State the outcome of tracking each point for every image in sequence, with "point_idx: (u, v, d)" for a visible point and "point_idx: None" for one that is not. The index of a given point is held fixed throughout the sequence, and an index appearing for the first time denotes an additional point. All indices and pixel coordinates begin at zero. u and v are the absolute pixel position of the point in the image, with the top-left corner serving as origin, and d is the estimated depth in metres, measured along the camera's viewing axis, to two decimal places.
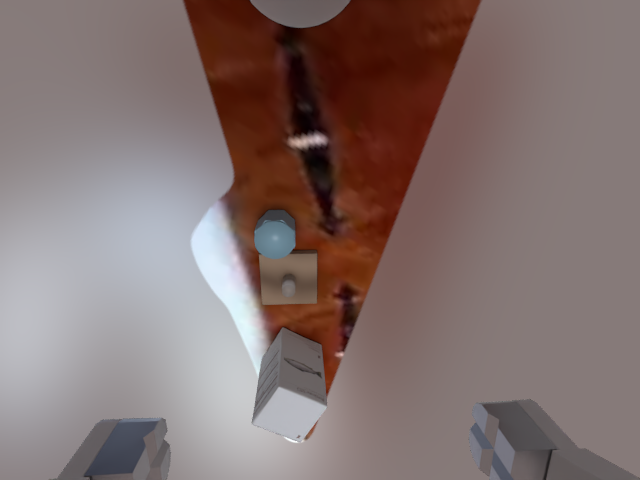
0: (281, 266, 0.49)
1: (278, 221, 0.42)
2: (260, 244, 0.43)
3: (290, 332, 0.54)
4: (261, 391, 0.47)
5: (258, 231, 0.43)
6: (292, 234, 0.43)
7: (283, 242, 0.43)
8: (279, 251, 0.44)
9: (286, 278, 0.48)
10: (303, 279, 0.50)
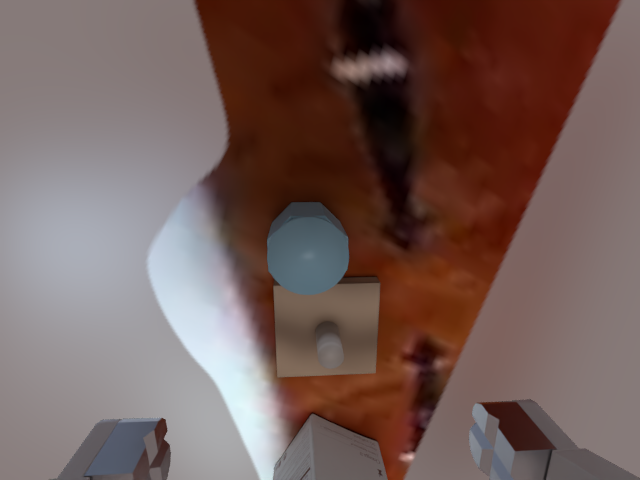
0: (313, 307, 0.26)
1: (316, 218, 0.21)
2: (279, 265, 0.21)
3: (325, 423, 0.30)
4: None
5: (275, 238, 0.21)
6: (344, 244, 0.21)
7: (325, 261, 0.21)
8: (317, 279, 0.22)
9: (324, 330, 0.26)
10: (353, 330, 0.27)
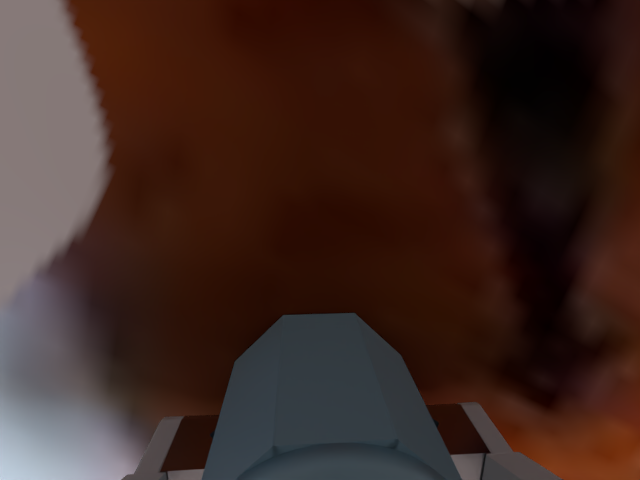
0: None
1: (370, 465, 0.05)
2: None
3: None
4: None
5: None
6: None
7: None
8: None
9: None
10: None
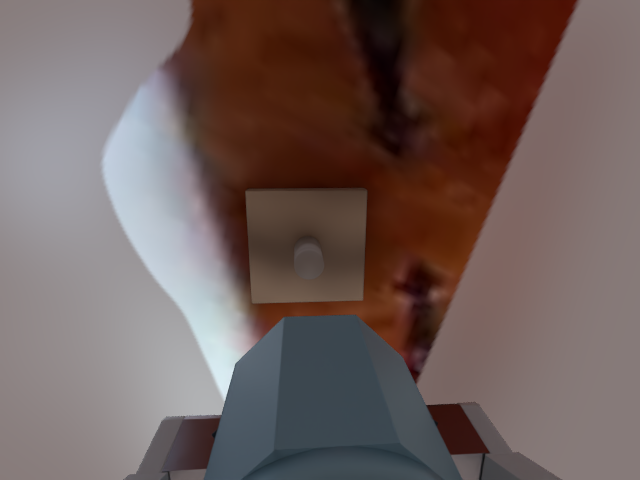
0: (291, 218, 0.23)
1: (372, 469, 0.05)
2: None
3: None
4: None
5: None
6: None
7: None
8: None
9: (303, 242, 0.23)
10: (337, 247, 0.24)
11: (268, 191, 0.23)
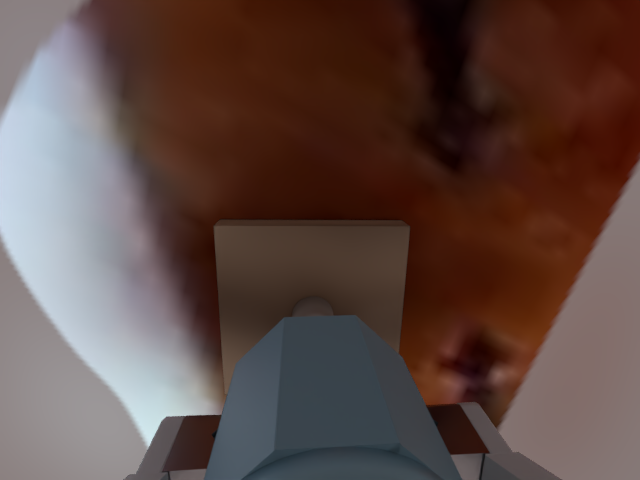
0: (288, 269, 0.15)
1: (372, 470, 0.05)
2: None
3: None
4: None
5: None
6: None
7: None
8: None
9: (306, 310, 0.14)
10: (360, 313, 0.15)
11: (251, 226, 0.14)
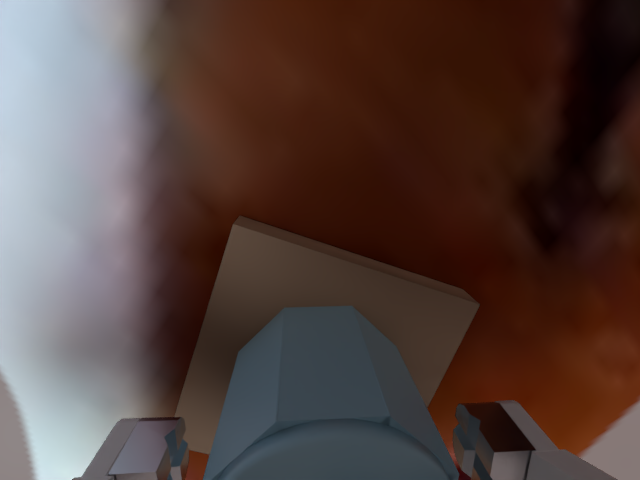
0: None
1: (364, 438, 0.06)
2: None
3: None
4: None
5: None
6: None
7: None
8: None
9: None
10: None
11: (282, 240, 0.10)
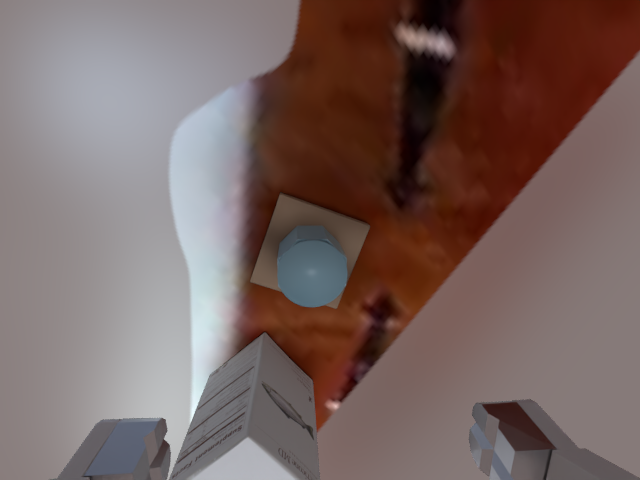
0: None
1: (319, 241, 0.24)
2: (287, 281, 0.25)
3: (274, 344, 0.32)
4: (199, 434, 0.25)
5: (285, 258, 0.24)
6: (343, 263, 0.25)
7: (327, 278, 0.25)
8: (319, 293, 0.25)
9: None
10: None
11: (297, 200, 0.28)
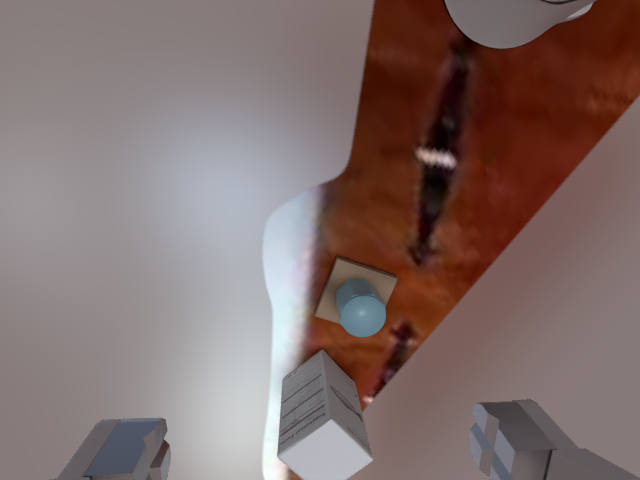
0: None
1: (368, 296, 0.38)
2: (347, 321, 0.39)
3: (329, 357, 0.46)
4: (292, 418, 0.39)
5: (346, 307, 0.38)
6: (383, 310, 0.38)
7: (373, 318, 0.39)
8: (367, 328, 0.39)
9: None
10: None
11: (348, 262, 0.42)
